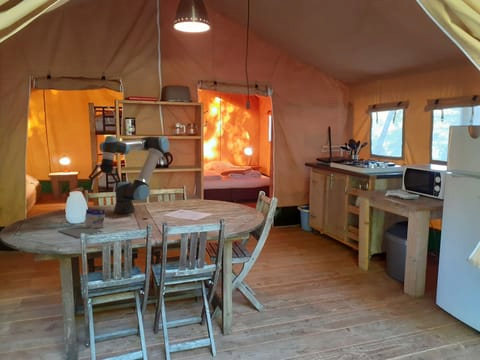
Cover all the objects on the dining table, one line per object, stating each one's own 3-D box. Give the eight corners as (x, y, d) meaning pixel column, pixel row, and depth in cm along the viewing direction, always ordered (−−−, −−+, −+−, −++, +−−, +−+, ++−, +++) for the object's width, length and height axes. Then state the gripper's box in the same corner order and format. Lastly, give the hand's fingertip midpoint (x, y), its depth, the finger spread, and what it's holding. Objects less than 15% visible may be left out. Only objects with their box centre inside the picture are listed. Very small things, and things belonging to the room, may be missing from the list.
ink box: (84, 227, 235) (85, 209, 234) (85, 227, 237) (85, 209, 236) (103, 228, 238) (104, 210, 237) (104, 227, 240) (104, 209, 239)
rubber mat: (82, 226, 242) (82, 225, 242) (102, 231, 230) (102, 231, 230) (58, 231, 230) (58, 230, 229) (78, 238, 217) (78, 237, 217)
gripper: (87, 155, 238) (82, 188, 236) (127, 162, 247) (123, 193, 245) (87, 156, 245) (82, 188, 243) (126, 162, 254) (122, 193, 252)
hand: (103, 191), depth 244 cm, fingers open, 13 cm apart
